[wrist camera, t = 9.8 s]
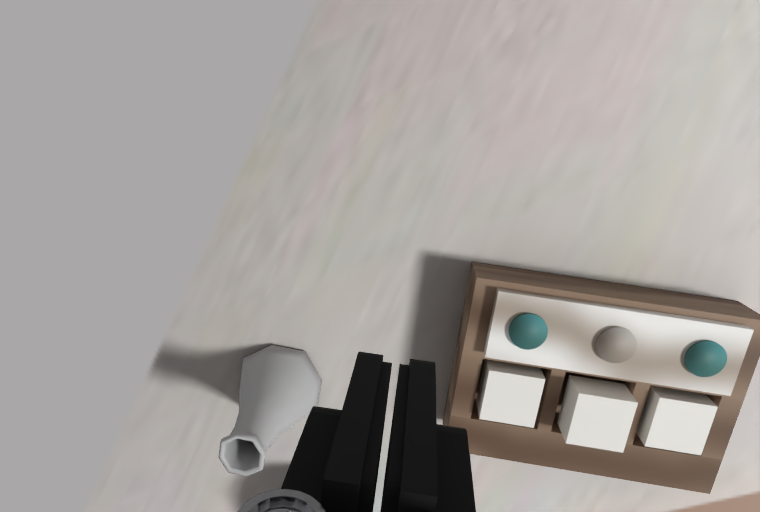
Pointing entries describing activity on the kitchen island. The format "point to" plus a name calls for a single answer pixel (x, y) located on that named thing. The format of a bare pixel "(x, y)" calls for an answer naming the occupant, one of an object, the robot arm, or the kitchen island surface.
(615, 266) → the kitchen island surface
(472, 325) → the board
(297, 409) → the flask
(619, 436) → the button mid
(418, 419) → the robot arm
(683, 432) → the white square block
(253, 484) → the kitchen island surface
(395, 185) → the kitchen island surface
